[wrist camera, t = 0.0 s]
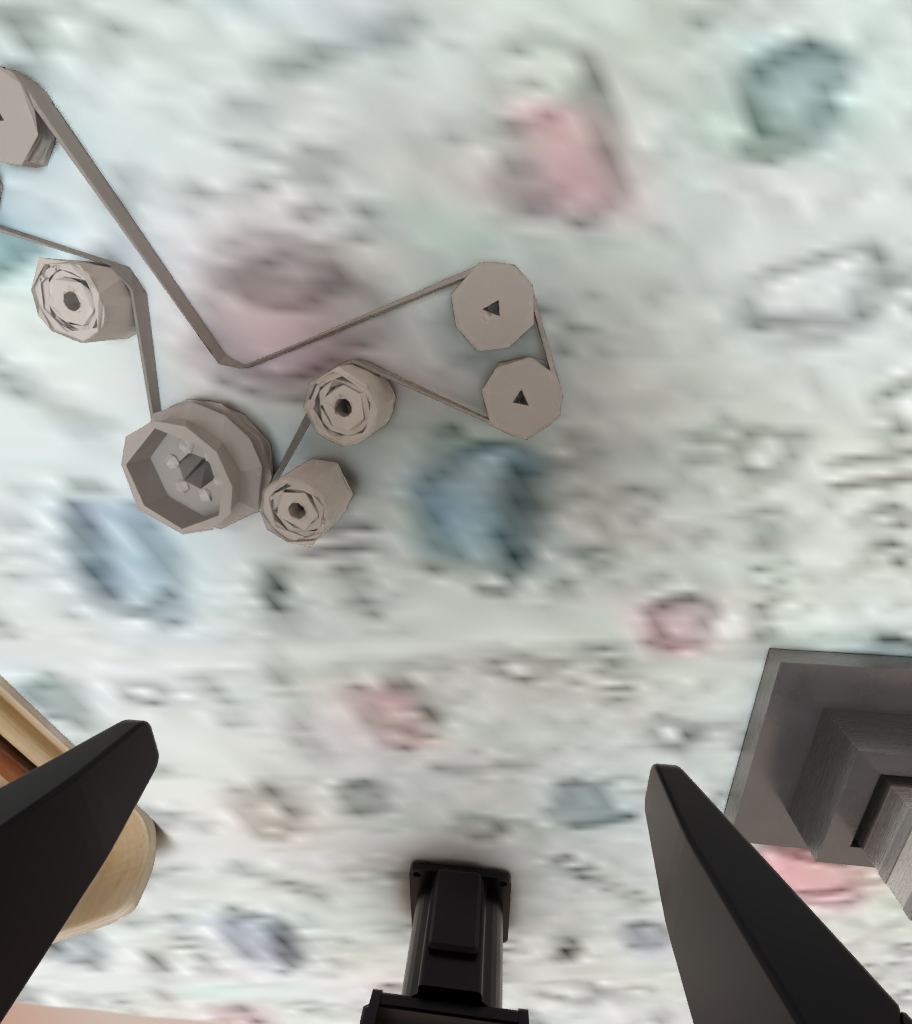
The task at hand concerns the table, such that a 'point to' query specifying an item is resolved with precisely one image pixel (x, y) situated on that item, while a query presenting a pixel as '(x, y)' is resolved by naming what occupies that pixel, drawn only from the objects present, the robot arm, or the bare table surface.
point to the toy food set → (125, 873)
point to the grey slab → (890, 835)
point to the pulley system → (225, 432)
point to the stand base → (821, 749)
